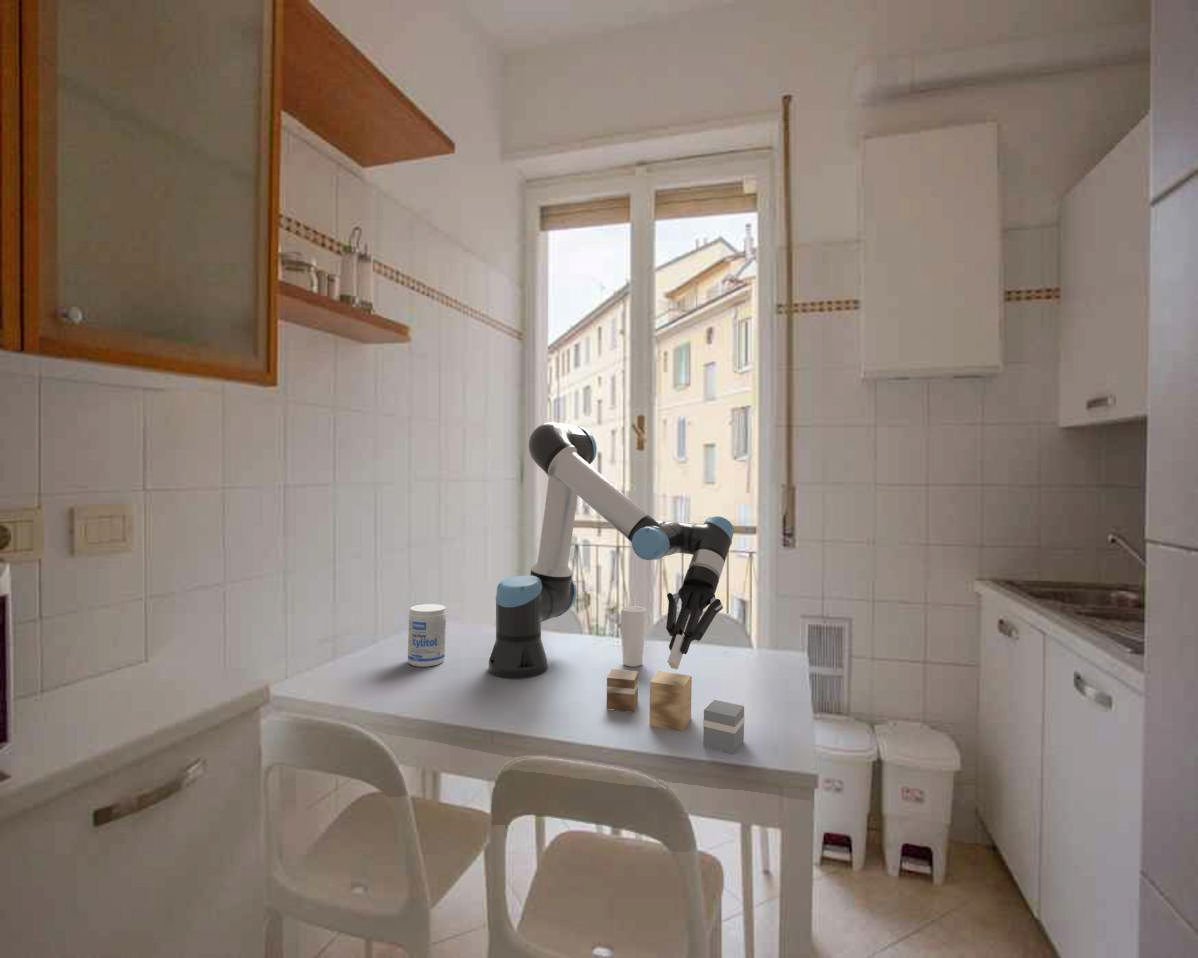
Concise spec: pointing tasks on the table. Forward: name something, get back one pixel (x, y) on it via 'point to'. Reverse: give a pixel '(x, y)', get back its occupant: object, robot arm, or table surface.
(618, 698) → the walnut block
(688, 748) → the table surface
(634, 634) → the drinking glass
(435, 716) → the table surface
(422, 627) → the supplement tub
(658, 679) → the oak block
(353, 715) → the table surface
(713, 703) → the grey block
